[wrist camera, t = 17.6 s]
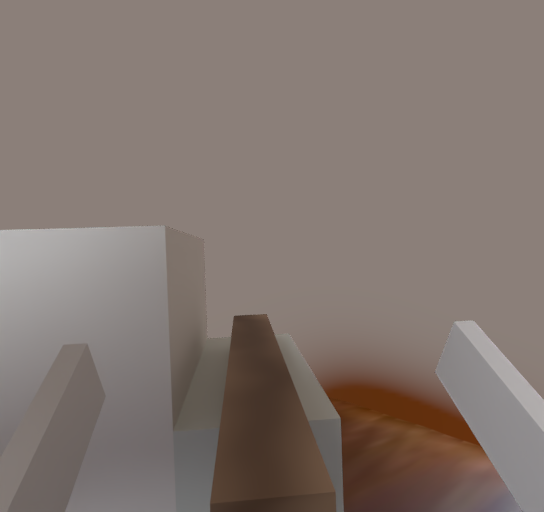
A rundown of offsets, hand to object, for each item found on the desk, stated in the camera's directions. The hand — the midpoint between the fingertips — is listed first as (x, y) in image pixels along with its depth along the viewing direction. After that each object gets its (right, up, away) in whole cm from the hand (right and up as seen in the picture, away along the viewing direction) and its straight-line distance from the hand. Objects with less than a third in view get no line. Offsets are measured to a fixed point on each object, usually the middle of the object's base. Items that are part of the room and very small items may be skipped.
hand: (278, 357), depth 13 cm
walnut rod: (-1, -6, +11) cm, 12 cm away
